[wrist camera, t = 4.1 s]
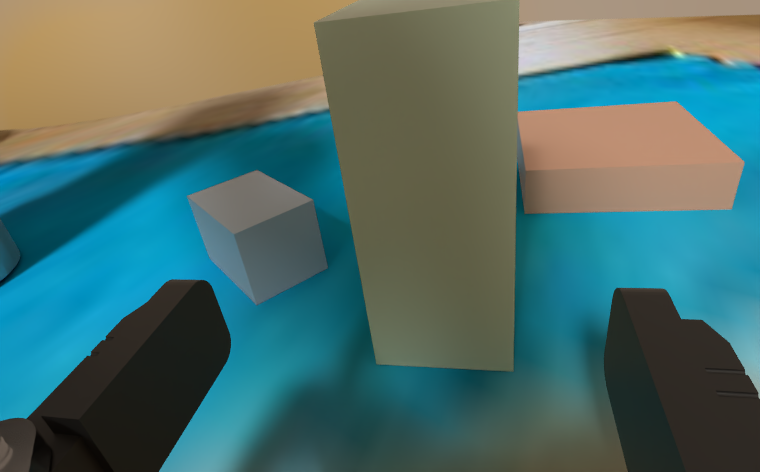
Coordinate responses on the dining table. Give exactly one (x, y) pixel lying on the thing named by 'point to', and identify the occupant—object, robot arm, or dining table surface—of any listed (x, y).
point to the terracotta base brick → (622, 160)
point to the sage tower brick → (429, 172)
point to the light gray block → (260, 233)
